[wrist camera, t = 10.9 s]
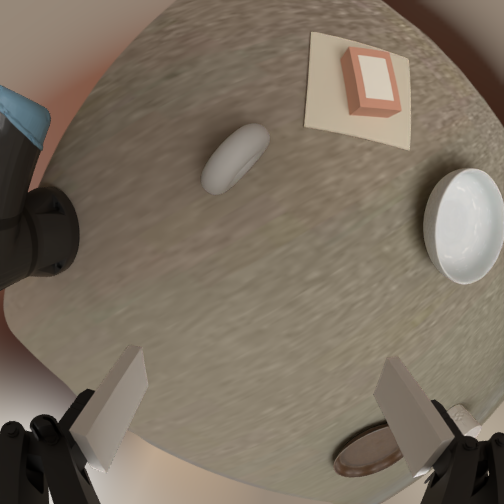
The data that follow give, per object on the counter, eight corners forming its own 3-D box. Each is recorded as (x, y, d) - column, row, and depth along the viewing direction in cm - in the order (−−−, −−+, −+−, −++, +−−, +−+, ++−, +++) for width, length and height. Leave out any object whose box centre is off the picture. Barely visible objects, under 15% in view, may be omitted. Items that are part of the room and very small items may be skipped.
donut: (254, 127, 34) (252, 106, 25) (274, 144, 35) (279, 128, 25) (204, 182, 36) (184, 180, 26) (223, 199, 37) (210, 203, 27)
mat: (303, 127, 34) (304, 126, 34) (310, 33, 31) (311, 31, 30) (407, 150, 34) (409, 150, 34) (407, 60, 31) (408, 59, 30)
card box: (340, 59, 31) (348, 46, 26) (377, 63, 31) (389, 52, 26) (349, 115, 33) (360, 106, 28) (387, 118, 33) (402, 110, 28)
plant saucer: (412, 401, 45) (418, 411, 41) (413, 445, 49) (417, 454, 45) (322, 439, 47) (324, 451, 44) (339, 476, 51) (342, 485, 48)
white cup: (461, 415, 46) (477, 438, 37) (437, 429, 47) (452, 453, 37) (466, 397, 45) (485, 420, 35) (441, 411, 45) (459, 437, 36)
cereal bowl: (454, 287, 39) (477, 301, 32) (391, 242, 37) (415, 252, 30) (491, 204, 35) (517, 209, 28) (435, 147, 34) (462, 143, 27)
